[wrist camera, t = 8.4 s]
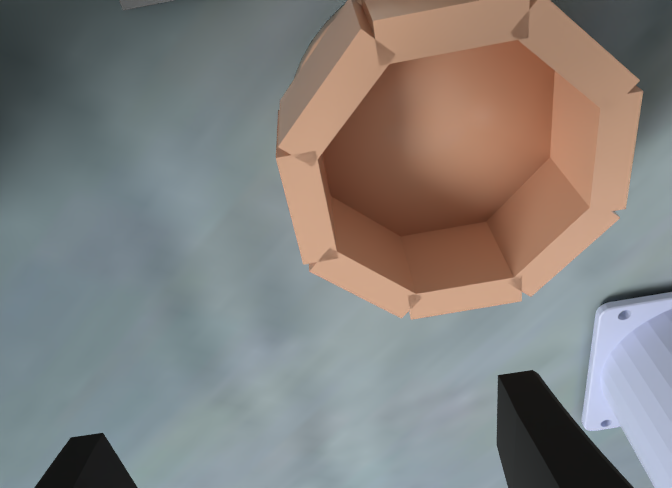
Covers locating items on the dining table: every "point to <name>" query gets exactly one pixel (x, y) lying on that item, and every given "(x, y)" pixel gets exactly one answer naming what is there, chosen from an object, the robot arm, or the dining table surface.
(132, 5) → the mat
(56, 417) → the dining table surface
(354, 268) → the bowl
